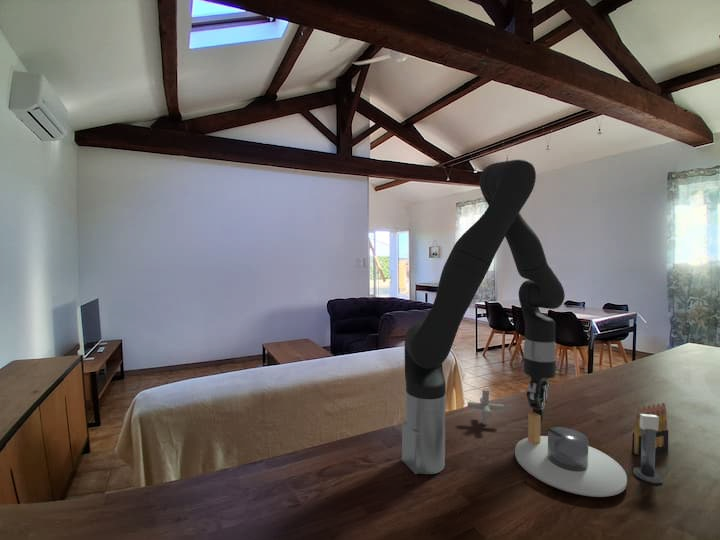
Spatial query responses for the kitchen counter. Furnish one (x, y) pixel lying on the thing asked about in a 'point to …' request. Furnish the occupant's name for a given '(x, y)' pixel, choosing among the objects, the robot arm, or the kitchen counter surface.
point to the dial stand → (648, 450)
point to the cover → (568, 449)
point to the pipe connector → (485, 406)
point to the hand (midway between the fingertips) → (537, 421)
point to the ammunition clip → (660, 434)
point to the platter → (594, 481)
